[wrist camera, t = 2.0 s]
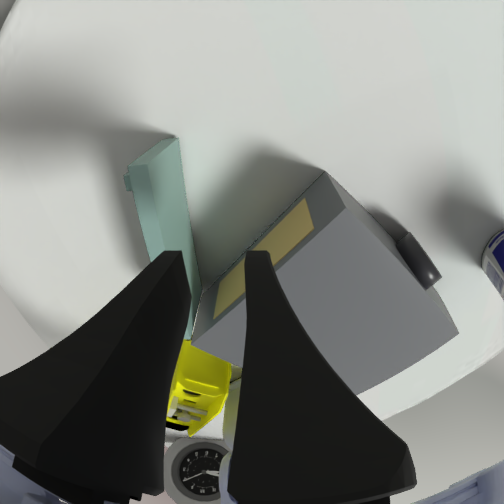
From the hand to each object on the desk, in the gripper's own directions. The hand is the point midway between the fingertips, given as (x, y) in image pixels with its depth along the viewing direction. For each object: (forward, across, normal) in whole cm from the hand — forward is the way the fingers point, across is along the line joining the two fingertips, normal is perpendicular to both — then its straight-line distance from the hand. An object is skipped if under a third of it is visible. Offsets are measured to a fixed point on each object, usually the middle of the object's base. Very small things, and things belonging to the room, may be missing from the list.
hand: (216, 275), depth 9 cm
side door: (+9, +4, +3) cm, 11 cm away
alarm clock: (+10, +10, +61) cm, 63 cm away
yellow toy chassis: (+10, +7, +24) cm, 26 cm away
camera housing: (+9, -8, +11) cm, 16 cm away
